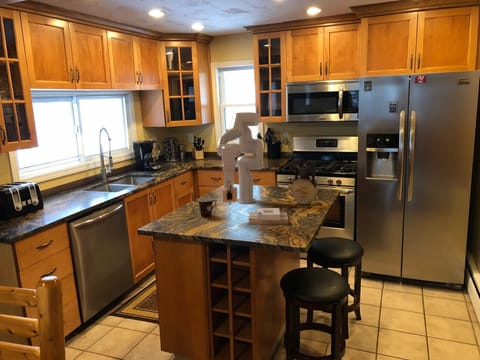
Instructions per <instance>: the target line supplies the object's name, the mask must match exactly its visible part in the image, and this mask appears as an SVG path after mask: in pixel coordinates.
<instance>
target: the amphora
mask: <svg viewBox="0 0 480 360" xmlns="http://www.w3.org/2000/svg"><path fill="white" fill-rule="evenodd" d="M303 161H304V160H302V159H301V158H298V159H296V160H295V161H294V179H293V181H292V184H291V185H290V191H291V196H292V198H293V199H294V200H295V201H296V206H297V207H300V208H309V207H311V206H312V202H313V201H314V200H315V199H316V197H317V195H318V192H319V191H318V190H319V189H318V188H319V187H318V184H317V182H316V167H317V166H316V162H315V161H314V160H310V159H309V160H307V162H306V164H304V162H303ZM310 173H311V177H310Z"/></svg>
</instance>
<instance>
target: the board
mask: <svg viewBox="0 0 480 360" xmlns="http://www.w3.org/2000/svg"><path fill="white" fill-rule="evenodd" d="M248 217H249V218H248V225H289V218H288V217H289V216H288V213H287V211H283V212H282V211H281V212H280V220H257V212H249V216H248Z"/></svg>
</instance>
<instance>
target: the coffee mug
mask: <svg viewBox="0 0 480 360" xmlns="http://www.w3.org/2000/svg"><path fill="white" fill-rule="evenodd" d="M197 201H198V208H199V213H200V217H201V218H210V217H212V214H213V209H214V208H215V207H216V206H217V200H216V199H213V198H210V197H204V198H203V197H202V198H199V199H198V200H197ZM213 202H215V204H214V205H213Z"/></svg>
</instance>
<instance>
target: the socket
mask: <svg viewBox="0 0 480 360" xmlns="http://www.w3.org/2000/svg"><path fill="white" fill-rule="evenodd" d="M256 213H257V220H280V207H277V208H276V207H275V208H274V207H269V208H268V207H266V208H265V207H264V208H263V207H262V208H256Z"/></svg>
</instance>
